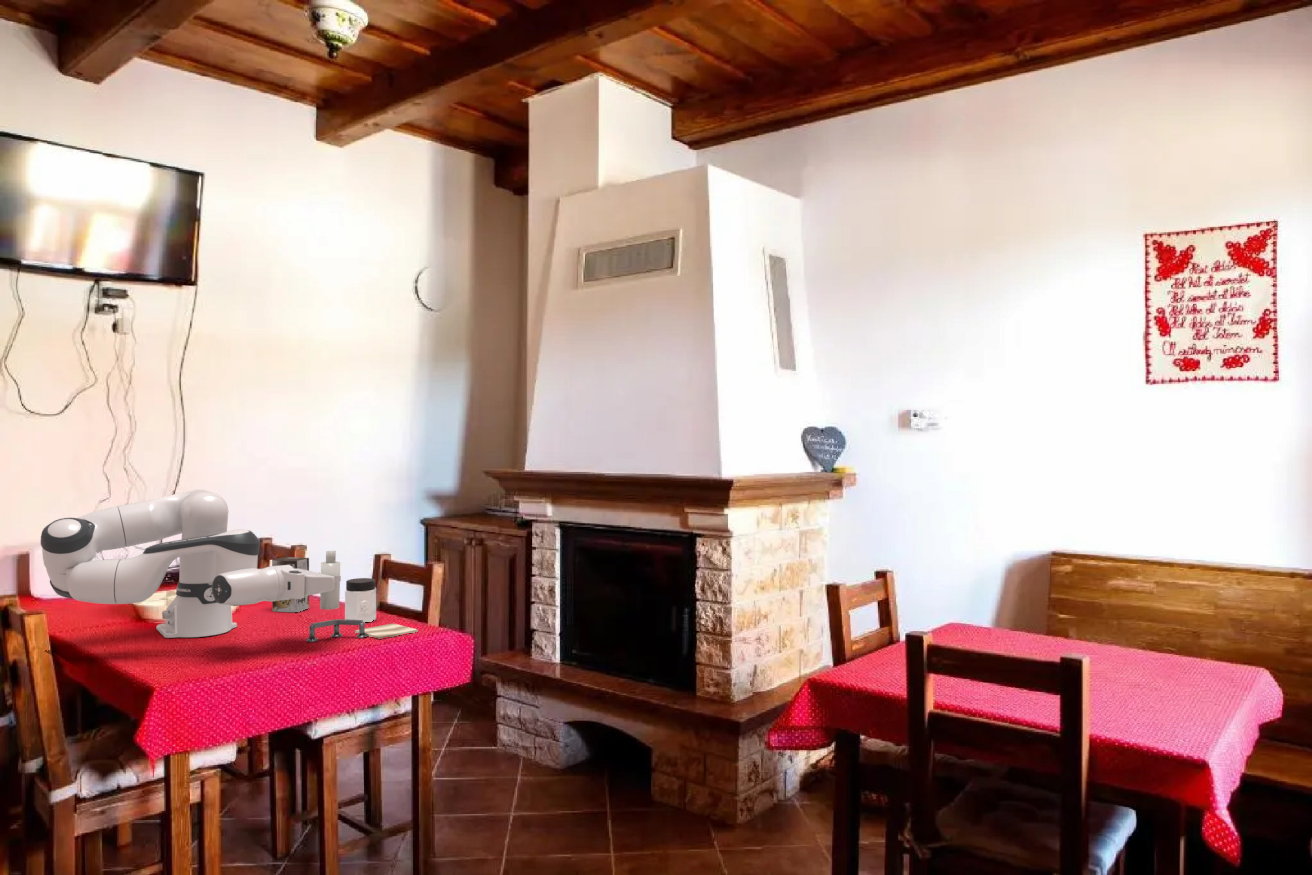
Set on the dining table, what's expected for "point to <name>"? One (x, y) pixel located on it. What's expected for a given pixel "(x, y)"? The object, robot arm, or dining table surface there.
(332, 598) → the stoneware bottle
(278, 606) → the coffee box
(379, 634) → the birch board
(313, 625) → the grey angled rail stand
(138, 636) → the dining table surface
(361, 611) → the jar
